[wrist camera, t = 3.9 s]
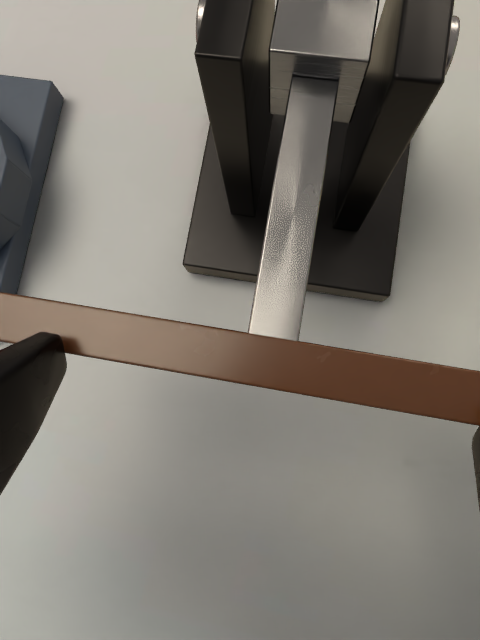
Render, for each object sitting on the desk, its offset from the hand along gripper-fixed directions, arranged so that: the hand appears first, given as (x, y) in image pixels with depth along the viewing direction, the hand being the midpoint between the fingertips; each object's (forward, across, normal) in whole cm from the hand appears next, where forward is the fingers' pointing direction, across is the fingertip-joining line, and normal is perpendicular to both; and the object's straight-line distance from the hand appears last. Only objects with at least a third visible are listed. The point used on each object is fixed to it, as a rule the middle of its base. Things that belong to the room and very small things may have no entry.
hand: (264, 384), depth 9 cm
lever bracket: (+12, 0, 0) cm, 12 cm away
